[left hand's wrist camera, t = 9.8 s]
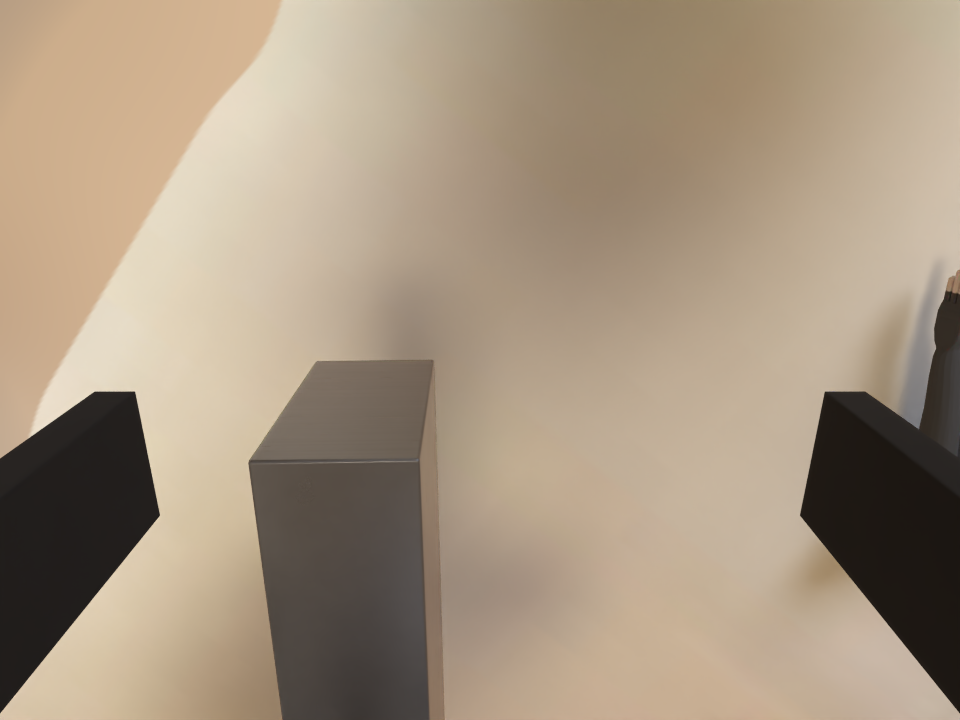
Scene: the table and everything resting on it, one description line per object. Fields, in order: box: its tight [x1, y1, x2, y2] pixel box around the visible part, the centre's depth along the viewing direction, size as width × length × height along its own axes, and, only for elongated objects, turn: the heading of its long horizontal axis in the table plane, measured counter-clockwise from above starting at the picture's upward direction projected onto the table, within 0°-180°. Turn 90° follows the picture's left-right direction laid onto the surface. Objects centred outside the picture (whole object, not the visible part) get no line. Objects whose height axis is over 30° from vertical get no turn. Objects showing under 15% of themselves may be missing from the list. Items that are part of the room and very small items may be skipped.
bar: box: [249, 360, 445, 720], centre depth 26 cm, size 23×5×9 cm, turn 0°
